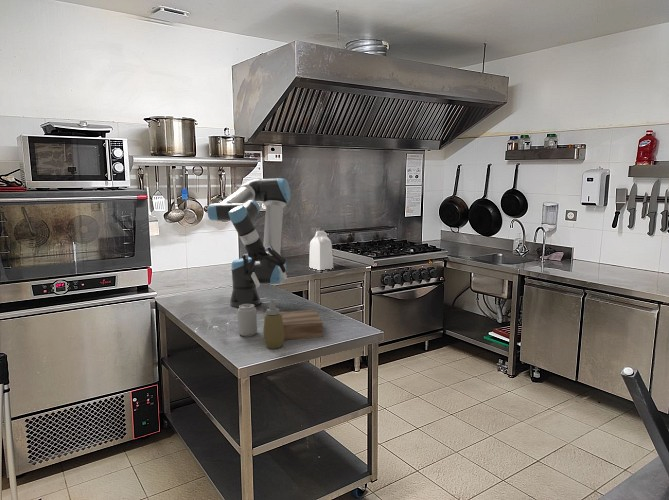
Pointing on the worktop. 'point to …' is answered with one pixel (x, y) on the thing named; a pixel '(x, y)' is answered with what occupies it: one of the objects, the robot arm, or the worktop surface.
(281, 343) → the squeeze bottle
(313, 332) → the walnut block
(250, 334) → the can
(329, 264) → the milk
